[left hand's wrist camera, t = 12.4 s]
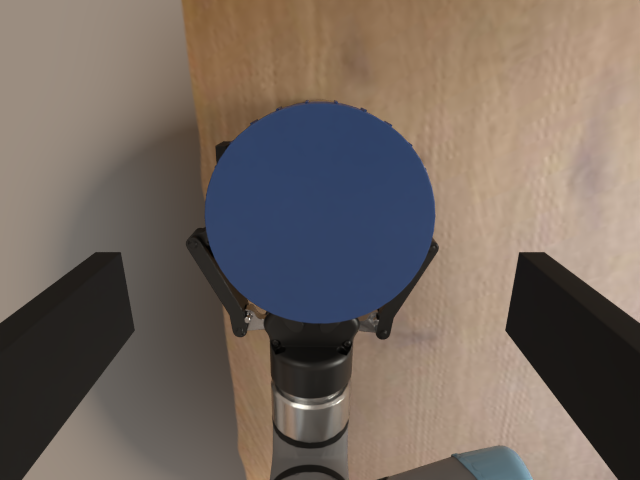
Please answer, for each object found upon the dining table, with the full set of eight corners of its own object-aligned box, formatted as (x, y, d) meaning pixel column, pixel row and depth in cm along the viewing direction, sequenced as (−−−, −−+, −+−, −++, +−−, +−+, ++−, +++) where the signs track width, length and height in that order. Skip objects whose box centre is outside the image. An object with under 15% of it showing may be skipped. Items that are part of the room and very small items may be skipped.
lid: (351, 51, 19) (355, 46, 17) (461, 236, 22) (477, 253, 20) (171, 181, 21) (153, 192, 19) (295, 334, 24) (292, 359, 22)
